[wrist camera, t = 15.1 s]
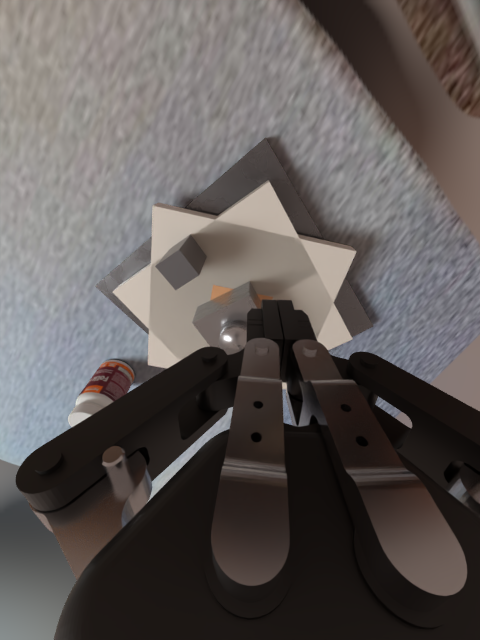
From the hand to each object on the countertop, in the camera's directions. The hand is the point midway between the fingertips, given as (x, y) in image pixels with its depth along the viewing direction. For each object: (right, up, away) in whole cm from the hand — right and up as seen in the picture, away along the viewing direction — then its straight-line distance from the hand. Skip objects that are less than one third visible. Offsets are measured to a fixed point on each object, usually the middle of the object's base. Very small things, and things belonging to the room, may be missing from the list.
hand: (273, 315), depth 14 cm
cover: (-2, 0, +14) cm, 14 cm away
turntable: (-2, +1, +15) cm, 15 cm away
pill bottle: (-19, -7, +23) cm, 30 cm away
